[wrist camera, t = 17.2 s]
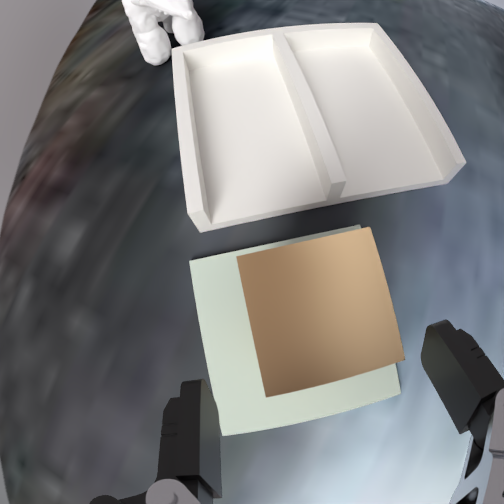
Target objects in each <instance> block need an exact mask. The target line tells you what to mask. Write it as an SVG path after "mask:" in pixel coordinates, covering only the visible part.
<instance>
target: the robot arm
mask: <svg viewBox="0 0 504 504" xmlns="http://www.w3.org/2000/svg"><path fill="white" fill-rule="evenodd" d="M421 361H422V365H423V368H424V370H425V371H426V373H427V375H428V377H429V378H430V380H431V382H432V384H433V385H434V387H435V389H436V391H437V393H438V394H439V396H440V398H441V400H442V402H443V403H444V405H445V407H446V409H447V411H448V413H449V415H450V416H451V418H452V420H453V422H454V424H455V426H456V428H457V430H458V432H459V434H462V433H464V432H466V431H468V430H470V432H471V434H472V435H471V437H470V441H469V446H468V451H467V455H466V459H465V463H464V467H463V471H462V475H461V478H460V481H459V484H458V486H457V488H456V489H455V491H454V493H453V495H452V497H451V500H450V503H449V504H504V380H503V378H502V377H501V375H500V374H499V372H498V371H497V370H496V368H495V367H494V365H493V364H492V363H491V361H490V360H489V358H488V357H487V356H485V353H484V352H483V350H482V349H481V348H479V345H478V344H477V342H476V341H475V340H474V338H473V337H472V336H471V335H469V334H468V333H466V332H465V331H463V330H462V329H459V330H456V329H455V328H454V327H453V325H452V324H451V323H450V322H449V321H448V320H443V321H440V322H437V323H434V324H432V325H429V326H428V327H427V329H426V334H425V338H424V343H423V347H422V352H421ZM162 425H163V426H162V430H161V435H162V437H161V440H160V451H159V462H158V474H157V478H156V481H155V483H154V484H153V485H152V486H151V487H150V488H149V489H148V490H147V491H146V492H144V493H142V494H139V495H136V496H132V497H128V498H124V499H120V500H117V499H116V498H114V497H112V496H108V495H102V496H98V497H96V498H94V499H93V500H92V501H91V502H90V503H89V504H213V498H222V483H221V458H220V428H219V412H218V408H217V404H216V402H215V400H214V398H213V396H212V394H211V392H210V390H209V388H208V386H207V384H206V382H205V380H204V379H199V380H191V381H184V382H182V384H181V390H180V397H177V398H170V400H169V402H168V404H167V405H166V407H165V409H164V411H163V421H162Z"/></svg>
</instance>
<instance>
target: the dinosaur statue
mask: <svg viewBox="0 0 504 504" xmlns="http://www.w3.org/2000/svg"><path fill="white" fill-rule="evenodd" d="M122 3H123V6H124V8H125V13H126V15H127V16H128V17H129V21H130V24H131V25H132V30H133V33H134V35H135V37H136V39H137V43H138V44H139V47H140V50H141V53H142V54H143V57H144V59H145V61H146V62H148V63H150V64H152V65H161V64H163V63H164V62H166V61H167V60H168V59H169V57H170V55H171V44H170V40H169V37H168V35H167V33H166V31H167V32H169V33H174V35H175V38H176V40H177V41H178V42H179V43H180V44H181V45H182V46H183V45H187V44H191V43H195V42H200V41H203V39H204V35H205V32H204V30H203V24H202V20H201V18H200V17H199V16H198V15H197V12H196V11H195V9H194V8H193V1H192V0H122ZM161 21H162V22H163V25H164V29H165V30H166V31H165V30H164V29H163V28H161V27H160V26H159V25H158V22H161Z"/></svg>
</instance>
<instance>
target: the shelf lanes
mask: <svg viewBox="0 0 504 504" xmlns="http://www.w3.org/2000/svg"><path fill="white" fill-rule="evenodd" d="M172 65H173V79H174V91H175V103H176V115H177V125H178V135H179V145H180V154H181V163H182V172H183V180H184V188H185V196H186V204H187V212H188V215H189V216H190V218H191V219H192V221H193V222H194V224H195V225H196V227H197V228H198V230H199V231H200V233H201V232H205V231H210V230H214V229H219V228H223V227H228V226H232V225H237V224H242V223H246V222H251V221H256V220H260V219H265V218H270V217H275V216H279V215H284V214H289V213H294V212H299V211H304V210H309V209H314V208H319V207H324V206H329V205H334V204H339V203H344V202H349V201H354V200H360V199H365V198H370V197H376V196H381V195H386V194H392V193H397V192H403V191H409V190H414V189H420V188H426V187H431V186H437V185H443V184H448V183H449V182H450V180H451V179H452V178H453V177H454V176H455V175H456V174H457V173H458V172H459V171H460V169H461V168H462V167H463V166H464V165H465V164H466V161H465V159H464V157H463V155H462V153H461V151H460V149H459V147H458V145H457V143H456V141H455V139H454V137H453V135H452V133H451V131H450V130H449V128H448V126H447V124H446V122H445V121H444V119H443V117H442V115H441V114H440V112H439V110H438V109H437V107H436V105H435V103H434V102H433V100H432V99H431V97H430V95H429V94H428V92H427V91H426V89H425V87H424V86H423V84H422V83H421V81H420V80H419V78H418V77H417V75H416V74H415V72H414V71H413V69H412V68H411V67H410V65H409V64H408V62H407V61H406V60H405V58H404V57H403V55H402V54H401V53H400V51H399V50H398V49H397V47H396V46H395V45H394V43H393V42H392V41H391V39H390V38H389V37H388V36H387V34H386V33H385V32H384V31H383V29H382V28H381V27H380V26H379V25H378V23H331V24H313V25H300V26H289V27H280V28H272V29H264V30H257V31H251V32H245V33H239V34H233V35H228V36H223V37H218V38H213V39H208V40H204V41H200V42H195V43H191V44H187V45H183V46H180V47H176V48H172Z"/></svg>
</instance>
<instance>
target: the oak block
mask: <svg viewBox="0 0 504 504" xmlns="http://www.w3.org/2000/svg"><path fill="white" fill-rule="evenodd" d="M236 258H237V263H238V268H239V273H240V278H241V283H242V288H243V293H244V297H245V302H246V307H247V312H248V317H249V321H250V326H251V331H252V336H253V340H254V345H255V350H256V354H257V359H258V364H259V368H260V373H261V378H262V382H263V387H264V391H265V396H266V398H267V397H272V396H277V395H282V394H286V393H291V392H295V391H299V390H304V389H308V388H312V387H316V386H320V385H324V384H328V383H332V382H335V381H339V380H343V379H346V378H350V377H353V376H356V375H360V374H363V373H366V372H370V371H373V370H376V369H379V368H382V367H385V366H388V365H391V364H394V363H397V362H400V361H403V360H405V356H404V351H403V347H402V342H401V338H400V333H399V329H398V325H397V320H396V316H395V312H394V308H393V304H392V300H391V296H390V293H389V289H388V285H387V282H386V278H385V274H384V271H383V267H382V264H381V261H380V257H379V254H378V251H377V247H376V244H375V241H374V238H373V235H372V232H371V228H370V227H366V228H362V229H357V230H353V231H348V232H344V233H339V234H335V235H330V236H326V237H321V238H317V239H312V240H308V241H303V242H299V243H294V244H290V245H285V246H281V247H276V248H272V249H267V250H263V251H258V252H254V253H249V254H245V255H240V256H236Z"/></svg>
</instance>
